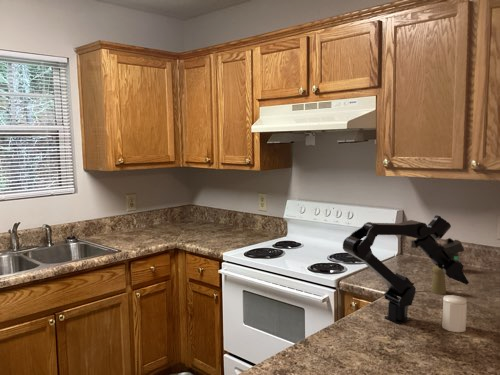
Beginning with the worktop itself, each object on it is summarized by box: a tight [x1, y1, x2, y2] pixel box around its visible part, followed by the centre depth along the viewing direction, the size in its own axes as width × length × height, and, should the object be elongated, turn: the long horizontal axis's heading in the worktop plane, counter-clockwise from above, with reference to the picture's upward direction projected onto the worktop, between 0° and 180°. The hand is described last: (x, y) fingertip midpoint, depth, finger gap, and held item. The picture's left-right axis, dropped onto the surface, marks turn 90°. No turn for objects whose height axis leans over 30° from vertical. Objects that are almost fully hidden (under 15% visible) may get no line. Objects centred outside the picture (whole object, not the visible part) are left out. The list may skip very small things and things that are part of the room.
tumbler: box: [441, 294, 467, 333], centre depth 149 cm, size 7×7×10 cm
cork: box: [430, 265, 447, 295], centre depth 185 cm, size 6×6×11 cm
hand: (463, 279), depth 158 cm, fingers open, 9 cm apart
